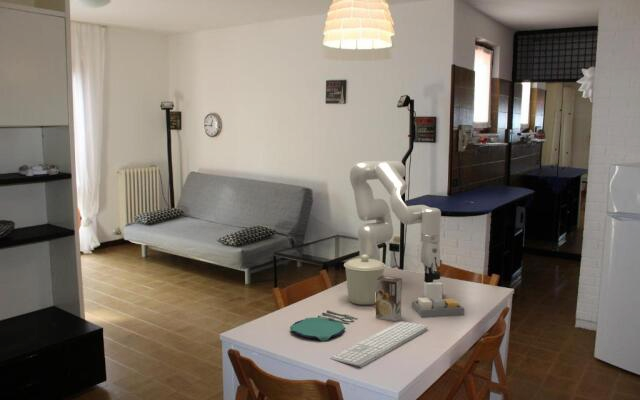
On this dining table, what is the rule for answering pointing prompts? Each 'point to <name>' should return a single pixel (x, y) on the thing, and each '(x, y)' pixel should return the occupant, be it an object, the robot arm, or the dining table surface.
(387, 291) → the coffee box
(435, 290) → the medicine bottle
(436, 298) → the key grey
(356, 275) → the canister
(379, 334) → the keyboard
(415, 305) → the keypad frame
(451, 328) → the dining table surface
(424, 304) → the key cream
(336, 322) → the cutlery set
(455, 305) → the yellow rectangular block
